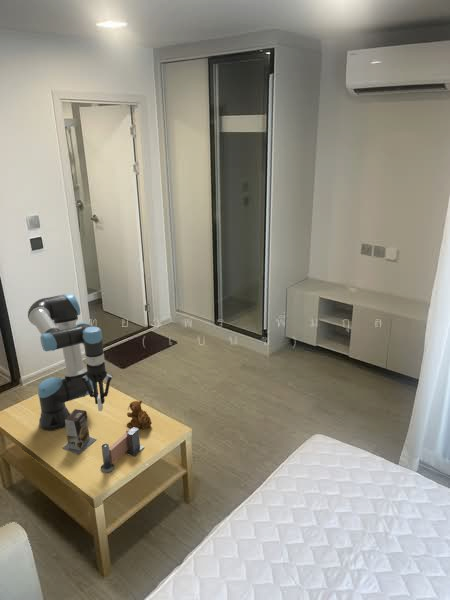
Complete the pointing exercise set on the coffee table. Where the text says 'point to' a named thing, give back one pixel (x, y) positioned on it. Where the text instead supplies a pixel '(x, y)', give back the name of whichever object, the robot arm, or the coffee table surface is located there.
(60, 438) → the coffee table surface
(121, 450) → the gate
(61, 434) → the coffee table surface
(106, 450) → the hinge post
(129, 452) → the post
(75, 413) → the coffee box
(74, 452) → the mat
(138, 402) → the stuffed squirrel
